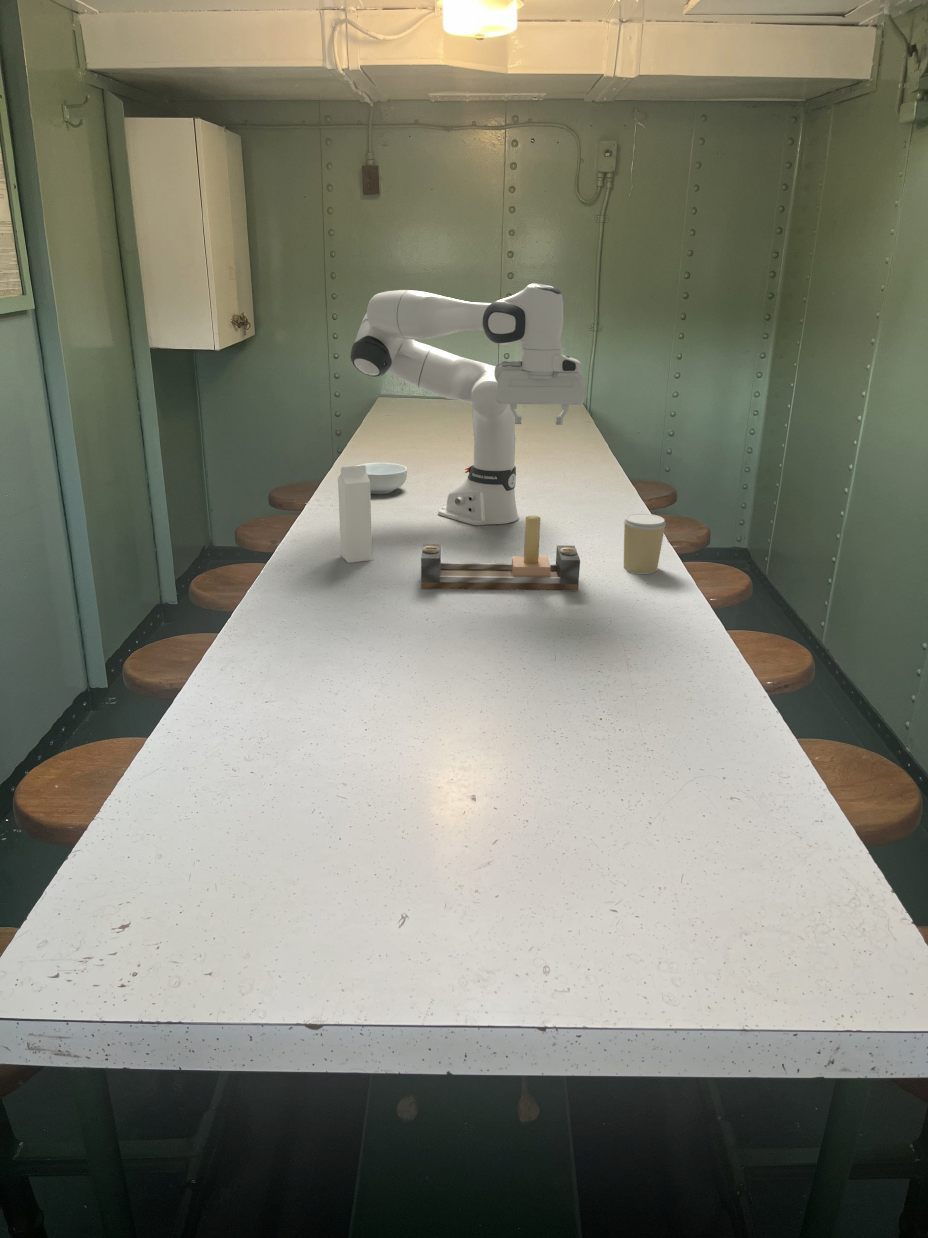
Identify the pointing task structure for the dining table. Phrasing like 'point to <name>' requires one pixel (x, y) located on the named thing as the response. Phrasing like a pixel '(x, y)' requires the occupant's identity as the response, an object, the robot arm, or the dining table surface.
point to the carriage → (531, 553)
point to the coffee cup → (642, 542)
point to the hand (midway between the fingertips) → (538, 424)
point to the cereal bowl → (385, 477)
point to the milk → (355, 514)
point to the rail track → (497, 573)
